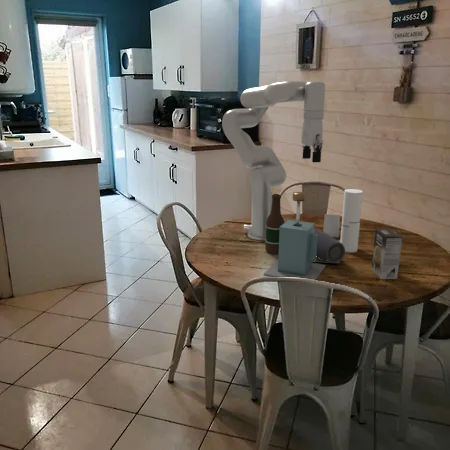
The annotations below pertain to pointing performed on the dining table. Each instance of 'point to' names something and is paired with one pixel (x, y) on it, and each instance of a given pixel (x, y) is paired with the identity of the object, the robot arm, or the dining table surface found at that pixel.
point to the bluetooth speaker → (329, 247)
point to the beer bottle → (273, 226)
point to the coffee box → (386, 253)
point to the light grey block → (331, 225)
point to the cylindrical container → (351, 219)
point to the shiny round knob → (298, 204)
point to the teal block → (296, 252)
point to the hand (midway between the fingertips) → (311, 160)
